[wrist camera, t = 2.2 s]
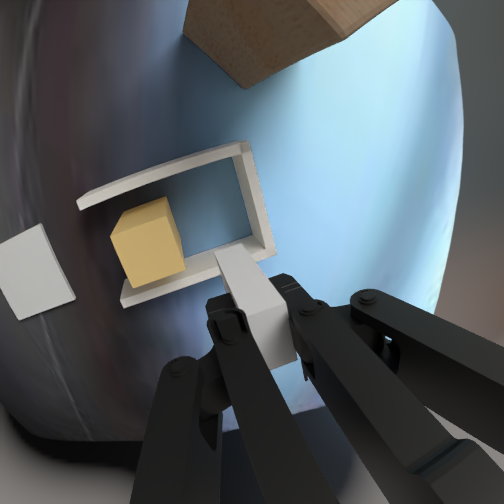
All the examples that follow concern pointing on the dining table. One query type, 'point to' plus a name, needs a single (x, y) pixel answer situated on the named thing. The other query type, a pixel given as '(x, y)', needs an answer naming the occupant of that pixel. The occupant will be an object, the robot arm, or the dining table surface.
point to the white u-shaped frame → (205, 262)
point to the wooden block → (272, 31)
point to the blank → (148, 243)
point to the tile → (32, 274)
